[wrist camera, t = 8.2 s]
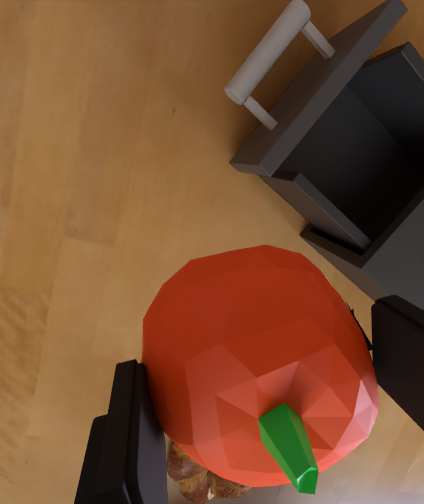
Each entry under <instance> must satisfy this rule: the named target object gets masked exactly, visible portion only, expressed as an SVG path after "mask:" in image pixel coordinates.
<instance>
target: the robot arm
mask: <svg viewBox="0 0 424 504" xmlns="http://www.w3.org/2000/svg"><path fill="white" fill-rule="evenodd" d="M371 316H372V346H373V348H374V349H373V350H372V355H373V366H374V371H375V375H376V379H377V383H378V384H379V386H380V387H381V388H382V389H383V390H384V391H385V392H386V393H387V394H388V395H389V396H390V397H391V398H392V399H393V400H394V401H395V402H396V403H397V404H398V405H399V406H400V407H401V408H402V409H403V410H404V411H405V412H406V413H407V414H408V415H409V416H410V417H411V418H412V419H413V420H414V421H415V422H416V423H417V425H418V426H419V427H420V428H421V429H422V430H423V431H424V310H422V309H420V308H419V307H417V306H415V305H413V304H412V303H410V302H408V301H406V300H405V299H403V298H401V297H400V296H398V295H390V296H386V297H382V298H378V299H377V300H376V301H375V304H373V305H372V308H371ZM74 504H168V492H167V468H166V444H165V436H164V431H163V430H162V428H161V426H160V423H159V421H158V419H157V417H156V415H155V412H154V408H153V403H152V399H151V395H150V390H149V386H148V382H147V377H146V370H145V364H144V363H143V362H142V363H139V364H138V362H137V360H136V359H134V360H130V361H126V362H122V363H118V364H117V365H116V370H115V375H114V381H113V387H112V392H111V398H110V404H109V409H108V414H106V415H103V416H99V417H96V418H95V419H94V420H93V423H92V427H91V431H90V436H89V440H88V444H87V449H86V453H85V458H84V462H83V466H82V471H81V475H80V480H79V484H78V488H77V493H76V497H75V502H74Z"/></svg>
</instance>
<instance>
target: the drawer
mask: <svg viewBox="0 0 424 504" xmlns="http://www.w3.org/2000/svg"><path fill="white" fill-rule="evenodd" d="M406 11H407V8H406V7H405V5H404V4H403V2H402V1H401V0H386V1H385V2H383V3H382V4H380V5H379V6H377V7H376V8H374V9H373V10H372V11H370V12H369V13H367V14H366V15H364V16H363V17H361V18H360V19H358V20H357V21H355V22H354V23H352V24H351V25H349V26H348V27H346V28H345V29H343V30H342V31H340V32H339V33H337V34H336V35H334V36H333V37H331V38H330V39H328V40H326V39H325V38H324V37H323V35H322V34H321V33H320V32H319V31H318V30H317V28H316V27H315V26H314V25H313V24H312V22H311V21H310V20H309V19H310V16H311V12H310V9H309V7H308V5H307V4H306V3H305V2H304V1H303V0H292V1H291V2H290V3H289V5H288V6H287V7H286V9H285V10H284V11H283V12H282V14H281V15H280V16H279V18H278V19H277V20H276V22H275V23H274V24H273V25H272V27H271V28H270V29H269V31H268V32H267V33H266V34H265V36H264V37H263V38H262V40H261V41H260V42H259V44H258V45H257V46H256V47H255V49H254V50H253V51H252V53H251V54H250V55H249V56H248V58H247V59H246V60H245V62H244V63H243V64H242V66H241V67H240V68H239V69H238V71H237V72H236V73H235V75H234V76H233V77H232V79H231V80H230V81H229V82H228V84H227V85H226V86H225V88H224V91H225V93H226V94H227V95H228V97H229V98H230V99H231V100H232V101H234V102H235V103H237V104H239V105H242V104H243V105H245V106H246V107H247V108H248V109H249V110H250V111H251V112H252V113H253V114H254V115H255V116H256V117H257V118H258V119H259V120H260V121H261V123H260V124H259V125H258V127H257V128H256V129H255V130H254V132H253V133H252V134H251V135H250V137H249V138H248V139H247V140H246V142H245V143H244V144H243V145H242V147H241V148H240V149H239V151H238V152H237V153H236V154H235V156H234V157H233V158H232V159H231V161H230V162H229V163H230V164H231V165H232V166H233V167H234V168H235V169H236V170H237V171H240V172H245V173H251V174H257V175H258V176H259V177H260V178H261V179H262V180H263V181H264V182H265V183H267V184H268V185H269V186H270V187H271V188H272V189H273V190H274V191H275V192H277V193H278V194H279V195H280V196H281V197H282V198H283V199H284V200H285V201H286V202H288V203H289V204H290V205H291V206H292V207H293V208H294V209H295V210H296V211H297V212H299V213H300V214H301V215H302V216H303V217H304V218H305V219H306V220H307V221H309V222H310V223H311V224H312V225H313V226H314V227H315V228H316V229H317V230H318V231H320V232H321V233H322V234H323V235H324V236H325V237H326V238H327V239H328V240H330V241H332V242H334V243H336V244H338V245H340V246H342V247H344V248H346V249H349V250H351V251H353V252H355V253H357V254H359V255H361V256H362V255H363V254H364V253H365V252H366V251H367V250H368V249H369V247H370V246H371V245H372V244H373V243H374V242H375V241H376V240H377V238H378V237H379V236H380V235H381V234H382V233H383V232H384V231H385V229H386V228H387V227H388V226H389V225H390V224H391V223H392V222H393V221H394V219H395V218H396V217H397V216H398V215H399V214H400V213H401V212H402V210H403V209H404V208H405V207H406V206H407V205H408V204H409V203H410V201H411V200H412V199H413V198H414V197H415V196H416V195H417V194H418V193H419V191H420V190H421V189H422V188H423V187H424V60H423V59H422V57H421V56H420V55H419V53H418V52H417V51H416V49H415V48H414V47H413V45H412V44H411V43H410V42H406V43H404V44H402V45H400V46H398V47H395V48H393V49H391V50H389V51H387V52H384V53H382V54H380V55H378V56H376V57H373V58H371V59H369V60H367V59H368V58H369V56H370V55H371V54H372V53H373V51H374V50H375V49H376V48H377V47H378V45H379V44H380V43H381V42H382V40H383V39H384V38H385V37H386V36H387V34H388V33H389V32H390V31H391V30H392V28H393V27H394V26H395V25H396V23H397V22H398V21H399V20H400V19H401V17H402V16H403V15H404V14H405V13H406ZM308 20H309V21H308ZM300 30H301V32H302V33H303V34H304V35H305V36H306V37H307V39H308V40H309V41H310V42H311V43H312V44H313V46H314V47H315V48H316V49H317V50H318V52H317V53H316V54H315V55H314V57H313V58H312V59H311V60H310V62H309V63H308V64H307V65H306V67H305V68H304V69H303V70H302V72H301V73H300V74H299V75H298V77H297V78H296V79H295V80H294V82H293V83H292V84H291V85H290V87H289V88H288V89H287V90H286V92H285V93H284V94H283V95H282V97H281V98H280V99H279V100H278V102H277V103H276V104H275V105H274V107H273V108H272V109H271V110H270V112H269V113H267V112H266V111H265V110H264V109H263V108H262V107H261V106H260V105H259V104H258V103H257V102H256V101H255V100H254V99H253V98H252V97H251V96H249V95H250V94H251V93H252V91H253V90H254V89H255V88H256V86H257V85H258V84H259V82H260V81H261V80H262V79H263V77H264V76H265V75H266V74H267V72H268V71H269V70H270V68H271V67H272V66H273V65H274V63H275V62H276V61H277V60H278V58H279V57H280V56H281V54H282V53H283V52H284V51H285V49H286V48H287V47H288V45H289V44H290V43H291V42H292V40H293V39H294V38H295V37H296V35H297V34H298V33H299V31H300ZM366 60H367V61H366Z"/></svg>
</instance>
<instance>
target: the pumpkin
mask: <svg viewBox="0 0 424 504" xmlns="http://www.w3.org/2000/svg"><path fill="white" fill-rule="evenodd" d="M346 304H347V303H346ZM346 304H345V303H344V301H343V299H342V298H341V296H340V295H339V293H338V292H337V291H336V290H335V289H334V288H333V287H332V286H331V285H330V283H329V282H328V280H327V279H326V278H325V276H324V275H323V273H322V272H321V270H319V269H318V268H317V267H316V266H315V265H314V264H312V263H311V262H310V261H309V260H308V259H307V258H306V257H304V256H303V255H302V254H300V253H296V252H292V251H288V250H284V249H281V248H277V247H273V246H269V245H262V246H256V247H251V248H245V249H239V250H234V251H229V252H224V253H220V254H216V255H211V256H207V257H202V258H198V259H194V260H190V261H189V262H188V263H187V264H186V265H185V266H183V267H182V268H181V269H180V270H179V271H178V272H177V273H176V274H174V275H173V276H172V277H171V278H170V279H169V280H168V281H167V282H165V283H164V284H163V285H162V287H161V289H160V290H159V292H158V294H157V295H156V297H155V299H154V300H153V302H152V304H151V306H150V307H149V309H148V311H147V313H146V315H145V317H144V319H143V352H142V360H141V363H142V362H143V363H144V364H145V370H146V377H147V382H148V386H149V390H150V395H151V399H152V403H153V408H154V412H155V415H156V417H157V419H158V421H159V423H160V426H161V428H162V430H163V431H164V432H165V433H166V434H167V435H168V436H169V438H170V439H171V440H172V441H173V442H174V443H175V444H177V445H178V446H179V447H180V448H181V449H182V450H183V451H184V452H185V453H186V454H187V455H188V456H189V457H190V458H191V459H192V460H193V461H195V462H196V463H198V464H200V465H201V466H203V467H205V468H206V469H208V470H210V471H211V472H213V473H215V474H217V475H218V476H220V477H222V478H224V479H227V480H230V481H233V482H236V483H239V484H242V485H244V486H250V487H264V486H276V485H283V484H287V483H291V482H292V484H293V485H294V486H295V488H296V489H297V490H298V492H300V493H309V494H315V489H316V483H317V477H318V474H319V473H320V472H322V471H323V470H325V469H327V468H328V467H330V466H332V465H333V464H335V463H336V462H338V461H340V460H341V459H343V458H344V457H345V456H346V455H347V454H349V453H350V452H351V451H352V450H353V449H354V448H356V447H357V446H358V445H359V444H360V443H362V442H363V441H364V440H365V439H366V438H368V436H369V434H370V432H371V429H372V427H373V424H374V422H375V420H376V417H377V415H378V412H379V402H378V385H377V379H376V375H375V371H374V366H373V362H372V358H371V355H370V353H369V351H370V350H373V349H374V348H373V346H372V344H371V343H370V341H369V339H368V338H367V336H366V334H365V333H364V331H363V329H362V328H361V326H360V324H359V323H358V321H357V319H356V318H355V316H354V311H353V309H352V310H351V309H350V308H349V306H348V304H347V306H348V308H349V309H348V308H347V306H346ZM349 310H350V311H349Z"/></svg>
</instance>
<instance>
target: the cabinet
mask: <svg viewBox="0 0 424 504" xmlns="http://www.w3.org/2000/svg"><path fill="white" fill-rule="evenodd" d="M300 237H302V238H303V239H304V240H305V241H306V242H307V243H308V244H310V245H311V246H312V247H313V248H314V249H315V250H316V251H318V252H319V253H320V254H321V255H322V256H323V257H324V258H326V259H327V260H328V261H329V262H330V263H331V264H332V265H333V266H335V267H336V268H337V269H338V270H339V271H340V272H341V273H343V274H344V275H345V276H346V277H347V278H348V279H349V280H351V281H352V282H353V283H354V284H355V285H356V286H357V287H359V288H360V289H361V290H362V291H363V292H364V293H365V294H367V295H368V296H369V297H370V298H371V299H372V300H373V301H376V300H377V299H378V298H382V297H386V296H390V295H398V296H400V297H401V298H403V299H405V300H406V301H408V302H410V303H412V304H413V305H415V306H417V307H419V308H420V309H422V310H424V187H423V188H422V189H421V190H420V191H419V193H418V194H417V195H416V196H415V197H414V198H413V199H412V200H411V201H410V203H409V204H408V205H407V206H406V207H405V208H404V209H403V210H402V212H401V213H400V214H399V215H398V216H397V217H396V218H395V219H394V221H393V222H392V223H391V224H390V225H389V226H388V227H387V228H386V229H385V231H384V232H383V233H382V234H381V235H380V236H379V237H378V238H377V240H376V241H375V242H374V243H373V244H372V245H371V246H370V247H369V249H368V250H367V251H366V252H365V253H364V254H363V255H362V256H361V255H359V254H357V253H355V252H353V251H351V250H349V249H346V248H344V247H342V246H340V245H338V244H336V243H334V242H332V241H330V240H328V239H327V238H326V237H325V236H324V235H323V234H322V233H321V232H320V231H318V230H317V229H316V228H315V227H314V226H313V225H312V224H311V223H310V224H309V225H308V226H307V227H306V228H305V230H304V231H303V232H302V233H301V234H300Z"/></svg>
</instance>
